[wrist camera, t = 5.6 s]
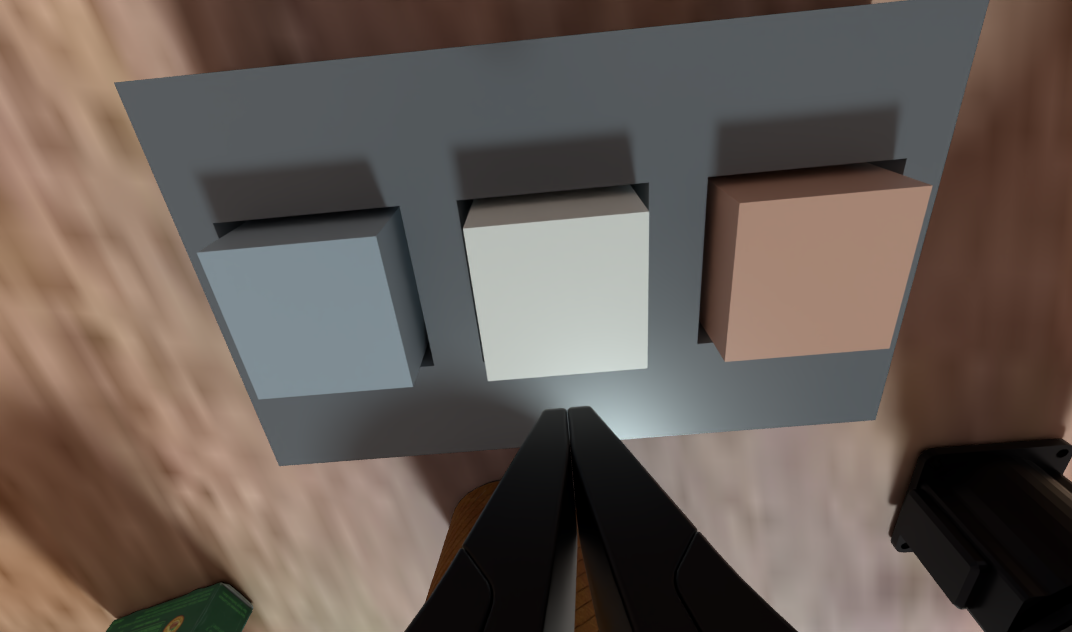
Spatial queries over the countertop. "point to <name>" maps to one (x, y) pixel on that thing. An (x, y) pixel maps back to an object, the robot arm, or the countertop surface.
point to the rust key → (807, 259)
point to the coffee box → (192, 613)
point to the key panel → (555, 165)
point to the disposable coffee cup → (462, 526)
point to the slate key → (320, 301)
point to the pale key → (560, 281)
